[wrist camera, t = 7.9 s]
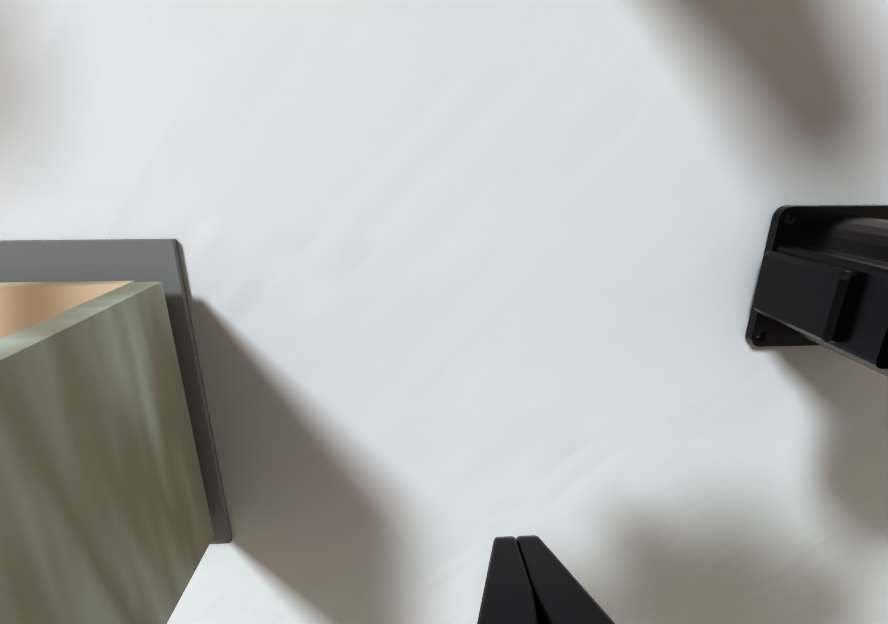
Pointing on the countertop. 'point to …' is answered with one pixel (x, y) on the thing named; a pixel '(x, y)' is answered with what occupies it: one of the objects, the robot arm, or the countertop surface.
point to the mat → (163, 265)
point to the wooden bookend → (94, 457)
